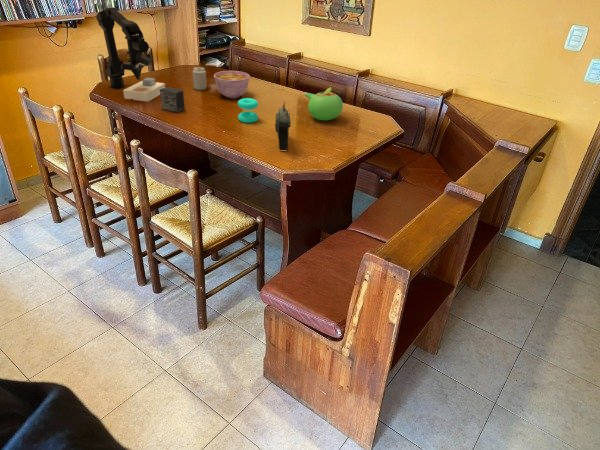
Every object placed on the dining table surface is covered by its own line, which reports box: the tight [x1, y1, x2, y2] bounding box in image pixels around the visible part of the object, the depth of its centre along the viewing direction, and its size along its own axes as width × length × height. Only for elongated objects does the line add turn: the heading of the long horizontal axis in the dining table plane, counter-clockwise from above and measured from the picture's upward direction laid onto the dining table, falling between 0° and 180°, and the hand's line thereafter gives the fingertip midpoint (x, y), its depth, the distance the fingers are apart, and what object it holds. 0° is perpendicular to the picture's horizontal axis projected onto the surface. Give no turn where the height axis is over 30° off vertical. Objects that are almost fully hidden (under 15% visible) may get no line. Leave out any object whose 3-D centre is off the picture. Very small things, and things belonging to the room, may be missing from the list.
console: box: [122, 80, 166, 102], centre depth 249 cm, size 14×20×4 cm
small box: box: [159, 86, 186, 114], centre depth 230 cm, size 11×6×10 cm, turn 65°
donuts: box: [237, 97, 259, 124], centre depth 223 cm, size 10×10×10 cm
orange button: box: [134, 87, 146, 91], centre depth 244 cm, size 5×5×4 cm
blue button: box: [141, 77, 156, 86], centre depth 251 cm, size 5×5×4 cm
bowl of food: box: [213, 70, 251, 99], centre depth 253 cm, size 20×20×12 cm
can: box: [192, 66, 208, 91], centre depth 261 cm, size 8×8×12 cm
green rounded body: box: [303, 86, 344, 121], centre depth 229 cm, size 18×17×15 cm
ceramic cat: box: [274, 101, 292, 151], centre depth 197 cm, size 20×6×20 cm, turn 5°
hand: (138, 79), depth 240 cm, fingers closed
